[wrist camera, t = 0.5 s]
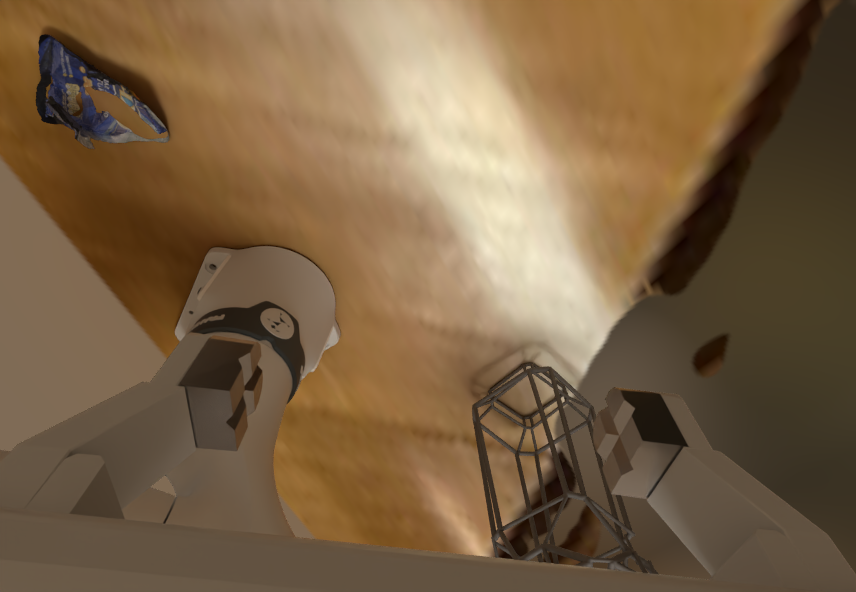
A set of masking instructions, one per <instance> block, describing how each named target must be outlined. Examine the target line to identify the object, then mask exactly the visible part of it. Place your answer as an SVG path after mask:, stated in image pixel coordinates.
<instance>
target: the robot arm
mask: <svg viewBox="0 0 856 592" xmlns="http://www.w3.org/2000/svg"><path fill="white" fill-rule="evenodd" d="M212 264H214V265H216V267H214V266H213V265H212ZM335 306H336V305H335V295H334V292H333V289H332V286H331V284H330V282H329V281H328V279H327V278H326V276H325V275H324V274H323V272H322V271H321V270H320V269H319V268H318V267H317V266H316V265H315V264H313V263H312V262H311V261H309V260H308V259H306V258H305V257H303V256H301V255H299V254H297V253H295V252H293V251H290V250H287V249H283V248H279V247H272V246H258V247H251V248H247V249H241V250H234V249H228V248H221V247H214V248H211V249H210V250H209V251H208V253H207V254H206V256H205V259H204V261H203V263H202V266H201V268H200V271H199V273H198V276H197V278H196V280H195V283H194V285H193V288H192V290H191V293H190V295H189V297H188V300H187V302H186V305H185V307H184V309H183V312H182V314H181V317H180V319H179V322H178V324H177V326H176V329H175V335H176V337H177V338H178V340H179V341H180V343H179V344H178V345H177V347H176V348H175V349H174V351H173V352H172V353H171V355H170V356H169V357H168V359H167V360H166V361H165V363H164V364H163V366H162V367H161V368H160V370H159V371H158V372H157V374H156V375H155V376H154V378H153V379H152V380H151V382H150V383H149V382H141V383H139V384H137V385H135V386H133V387H131V388H129V389H128V390H125V391H123V392H121V393H119V394H117V395H115V396H113V397H111V398H109V399H107V400H105V401H103V402H101V403H99V404H97V405H96V406H93V407H91V408H89V409H87V410H85V411H83V412H81V413H79V414H77V415H75V416H73V417H71V418H69V419H67V420H65V421H63V422H61V423H59V424H57V425H55V426H53V427H51V428H49V429H47V430H45V431H43V432H41V433H39V434H37V435H35V436H33V437H31V438H29V439H27V440H25V441H23V442H21V443H19V444H17V445H16V446H15V447H14V448H13V450H12V451H4V450H0V592H856V574H855V573H854V571H853V570H852V569H851V567H850V566H849V564H848V563H847V561H846V560H845V559H844V557H843V556H842V554H841V553H840V552H839V550H838V549H837V547H836V546H835V544H834V543H833V541H832V540H831V539H830V537H829V536H828V535H827V534H826V533H825V532H823V531H822V530H821V529H820V528H818V527H817V526H815V525H814V524H813V523H812V522H810V521H809V520H808V519H806V518H805V517H804V516H803V515H801V514H800V513H799V512H797V511H796V510H794V509H793V508H792V507H791V506H790V505H788V504H787V503H786V502H785V501H783V500H782V499H781V498H779V497H778V496H777V495H775V494H774V493H773V492H772V491H770V490H769V489H768V488H766V487H765V486H764V485H762V484H761V483H760V482H759V481H757V480H756V479H755V478H753V477H752V476H751V475H749V474H748V473H747V472H746V471H744V470H743V469H742V468H741V467H739V466H738V465H737V464H735V463H734V462H733V461H731V460H730V459H729V458H728V457H726V456H725V455H724V454H722V453H721V452H720V451H713V450H712V448H711V446H710V445H709V443H708V441H707V439H706V438H705V436H704V434H703V433H702V431H701V429H700V428H699V426H698V424H697V422H696V421H695V419H694V417H693V416H692V414H691V412H690V411H689V409H688V407H687V406H686V404H685V402H684V400H683V399H682V398H681V397H680V396H679V395H677V394H670V393H660V392H649V391H640V390H633V389H624V388H616V387H614V388H612V389H611V390H610V391H609V392H608V395H607V397H606V398H605V400H606V403H607V405H608V407H606V408H605V409H603V410H601V411H600V412H598V414H597V417H596V419H595V421H594V427H593V440H594V445H595V448H596V451H597V453H598V454H599V455H600V456H601V457H602V458H604V459H605V460H606V462H605V464H604V465H603V467H602V469H603V472H604V475H605V478H606V481H607V484H608V487H609V490H610V493H611V494H616V495H623V496H631V497H637V498H644V499H648V500H647V502H649V504H650V505H651V506H652V507H653V508H654V510H655V511H656V512H657V513H658V514H659V515H660V517H661V518H662V519H663V520H664V521H665V522H666V524H667V525H668V526H669V527H670V528H671V529H672V530H673V532H674V533H675V534H676V535H677V536H678V537H679V538H680V540H681V541H682V542H683V543H684V544H685V546H686V547H687V548H688V549H689V550H690V551H691V552H692V553H693V555H694V556H695V557H696V558H697V559H698V561H699V562H700V563H701V564H702V565H703V566H704V567H705V568H706V570H707V571H708V572H709V573H710V574H711V576H712V577H711V578H710V579H709V580H707V579H698V578H688V577H679V576H669V575H659V574H650V573H640V572H630V571H621V570H611V569H601V568H591V567H582V566H572V565H562V564H553V563H543V562H532V561H523V560H513V559H504V558H494V557H484V556H474V555H464V554H455V553H445V552H435V551H425V550H415V549H406V548H396V547H386V546H377V545H367V544H358V543H348V542H339V541H329V540H319V539H309V538H300V537H295V535H294V533H293V532H292V530H291V528H290V526H289V524H288V522H287V520H286V517H285V515H284V512H283V509H282V506H281V503H280V500H279V497H278V493H277V489H276V484H275V478H274V468H273V455H274V448H275V443H276V439H277V435H278V431H279V427H280V424H281V420H282V417H283V413H284V410H285V407H286V405H287V404H288V403H289V402H290V400H291V399H292V398H293V396H294V394H295V392H296V391H297V389H298V387H299V385H300V382H301V380H302V379H303V378H304V377H305V376H306V375H307V374H308V373H309V372H313V371H314V370H315V369H316V368H317V366H318V363H319V361H320V359H321V356H322V354H323V352H324V351H325V350H326V349H328V348H330V347H331V346H333V345H335V344H336V343H337V342H338V340H339V338H340V335H341V334H340V330H339V327H338V325H337V322H336V320H335ZM164 476H166V477H167V478H168V480H169V481H170V483H171V484H172V486H173V488H174V491H175V493H176V497H175V496H173V495H171V494H168V493H165V492H163V491H160V490H157V489H154V488H151V486H152V485H154V484H155V483H156V482H157V481H159V480H160V479H161V478H162V477H164Z"/></svg>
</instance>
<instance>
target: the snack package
mask: <svg viewBox="0 0 856 592" xmlns="http://www.w3.org/2000/svg"><path fill="white" fill-rule="evenodd" d="M39 39H40V40H39V51H38V54H39V56H40V57H39V64H40V65H39V67H40V74H41V81H40V82H39V84H38V86H37V92H36V106H37V110H38V113H39V114H40V116H41V117H42V119H41V120H42V121H43V122H46V123H50V124H64V125H65V126H67V127H69V128H71V129H73V130H74V131H75V139H77V140H78V141H80V143H81V144H83V145H84V146H85V147H88V148H89V149H91V148H92V149H95V148H94V147H93V145H92V142H91V141H90V138H92V139H94V140H101V141H104V142H109V143H127V142H129V141H147V142H148V141H157V142H162V143H163V142H165V143H166V142H168V141H169V134H168V137H166V138H158V139H144V138H142V137H140V136H138V135H136V134H134V133H133V132H132V131H131V130H130V129H129V128H127V127H125V126H123V125H122V124H121V123H119V122H118V121H117V120H116V119H114V118H113V117H112V116H111V115H110V114H109V113H108V112H105V111H102V113H97V112H96V108H95V106H94V104H93V101H92V99H91V97H90V96H89V94H88V93H87V91H86V89H85V87H92V88H93V89H94V90H100V91H105V92H108V93H111V94H113V95H115V96H117V97H118V98H120V99H122V100H123V101H124V102H125V103H126V104H128V105H129V106H130V107H131V108H132V109H133V110H134V111H135V112H137V113H138V115H139V116H140V117H141V118H142V120H143V121H145V122H146V123H147V124H148V125H150V126H151V127H152V128H153V129H154V131H155V132H157V133H158V134H161V133H164V132H166V131H167V129H166V128H165V126H164V124H163V123H162V122H161V121H160V120H159V119H158V117H157V116H156V115H155V114H154V113H153V112H152V111H151V110H150V108H149V107H148V106H147V105H146V104H145V103H144V102H142V101H141V100H140V99H139V98H138V97H137V96H136V94H135V93H134V92H133V91H132V90H129V89H128V88H127V87H125V86H124V85H122V84H121V83H119V82H117V81H115V80H114V79H112V78H110V77H109V76H107V75H106V74H104V73H103V72H101V71H100V70H98V69H96V68H95V67H94V66H93V65H91V64H89V63H87V62H86V61H84V60H83V59H82V58H80V57H79V56H77V55H75V54H74V53H72V52H71V51H70V50H68V49H67V48H66V47H65V46H64V45H63V44H61V42H59V41H57V40H56V39H55V38H54V37H53V36H51V35H47V34H44V35H41V36H40V38H39ZM51 77H52V79H53V83H52V84H51V85H50V87H51V88H50V90H49V92H48V94H49V96H48V97H49V98H48V99H47V97H46V91H47V90H46V87H47V86H48V85H49V84H50V83H51ZM78 92H81V93H82V95H81V96H82V97H81V98H82V104H83V111H82V113H81V114H80V115H79V116H73V113H75V112H77V111H79V110H80V107H79V105H78V104H77V101H76V98H75V97H76V95H78ZM50 110H51V111H50ZM49 113H50V114H49ZM53 113H54V115H53ZM52 115H53V116H52ZM167 132H168V131H167Z"/></svg>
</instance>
